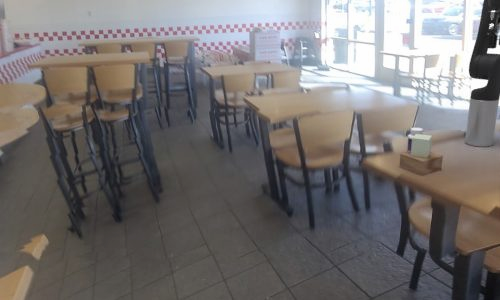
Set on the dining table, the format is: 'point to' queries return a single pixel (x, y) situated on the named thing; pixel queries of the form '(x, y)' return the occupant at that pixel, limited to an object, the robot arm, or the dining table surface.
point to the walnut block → (421, 163)
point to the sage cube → (421, 145)
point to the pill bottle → (410, 136)
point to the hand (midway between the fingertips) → (497, 46)
